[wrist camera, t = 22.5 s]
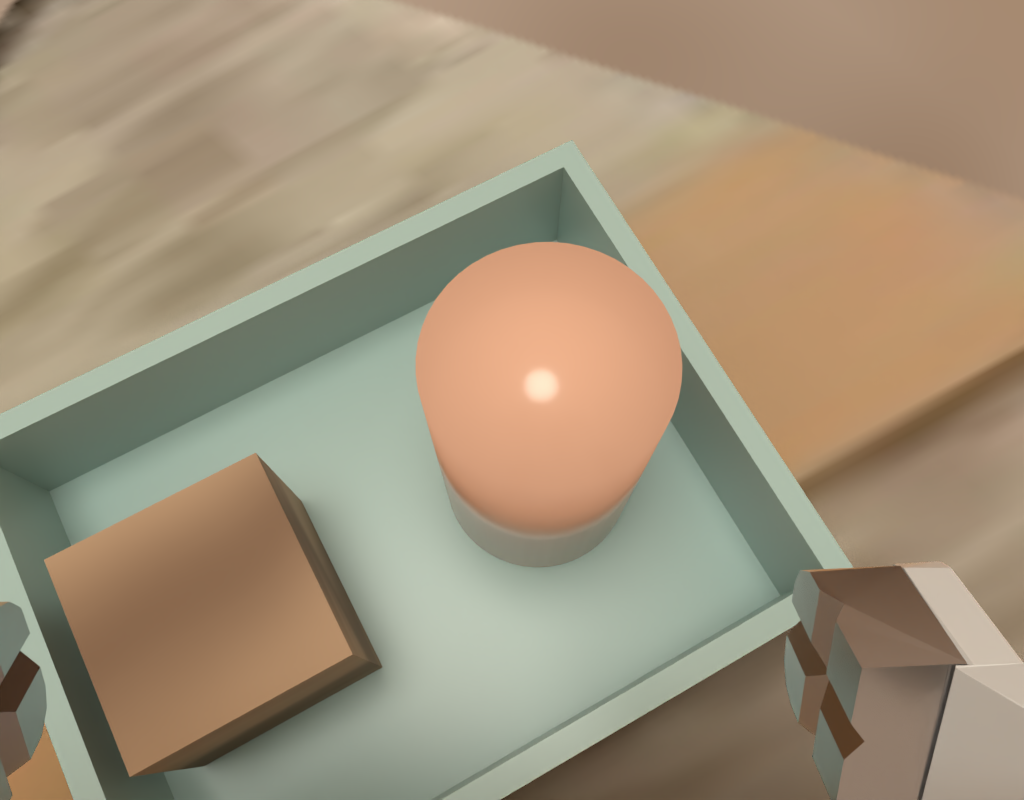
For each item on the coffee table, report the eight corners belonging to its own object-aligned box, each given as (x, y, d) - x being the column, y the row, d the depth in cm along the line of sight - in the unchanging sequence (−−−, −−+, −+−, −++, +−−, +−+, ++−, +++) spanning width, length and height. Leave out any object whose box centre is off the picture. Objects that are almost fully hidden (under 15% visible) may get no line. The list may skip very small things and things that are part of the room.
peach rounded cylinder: (661, 512, 26) (733, 413, 18) (500, 601, 26) (493, 541, 17) (571, 361, 28) (597, 201, 19) (415, 441, 27) (370, 312, 18)
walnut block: (382, 667, 25) (352, 654, 20) (204, 766, 24) (129, 776, 20) (301, 500, 26) (255, 452, 22) (129, 589, 26) (43, 559, 21)
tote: (563, 224, 30) (572, 139, 25) (805, 607, 26) (864, 584, 22) (31, 487, 27) (-61, 443, 23) (217, 953, 24) (150, 1005, 19)
